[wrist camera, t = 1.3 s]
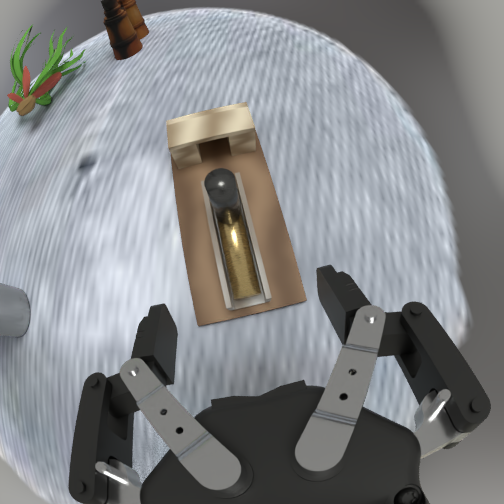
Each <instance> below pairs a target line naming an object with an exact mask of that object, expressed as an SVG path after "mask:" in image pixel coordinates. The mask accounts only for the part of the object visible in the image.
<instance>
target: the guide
mask: <svg viewBox="0 0 504 504" xmlns="http://www.w3.org/2000/svg"><path fill="white" fill-rule="evenodd" d="M166 122H167V136H168V148H169V150H170V152H171V161H172V171H173V180H174V188H175V196H176V204H177V211H178V218H179V225H180V232H181V238H182V245H183V251H184V257H185V263H186V268H187V274H188V279H189V285H190V290H191V295H192V300H193V305H194V310H195V315H196V320H197V324H198V326H202V325H206V324H211V323H216V322H221V321H225V320H230V319H234V318H239V317H243V316H248V315H252V314H256V313H260V312H264V311H269V310H273V309H277V308H281V307H284V306H288V305H292V304H296V303H300V302H304V301H306V300H307V299H306V296H305V292H304V288H303V284H302V281H301V277H300V273H299V270H298V266H297V262H296V259H295V255H294V252H293V248H292V245H291V241H290V238H289V234H288V231H287V228H286V224H285V221H284V218H283V214H282V211H281V208H280V204H279V201H278V198H277V195H276V191H275V188H274V185H273V182H272V179H271V176H270V172H269V169H268V166H267V163H266V160H265V157H264V154H263V151H262V148H261V145H260V142H259V139H258V136H257V133H256V130H255V126H254V123H253V120H252V117H251V114H250V111H249V109H248V106H247V103H246V102H244V103H239V104H234V105H229V106H224V107H219V108H214V109H210V110H206V111H202V112H198V113H194V114H190V115H186V116H182V117H179V118H175V119H171V120H168V121H166ZM218 168H225V169H228V170H230V171H231V172H232V173H233V174H234V176H235V179H236V186H237V192H238V198H239V204H240V209H241V213H242V217H243V221H244V225H245V229H246V233H247V237H248V241H249V245H250V249H251V253H252V258H253V262H254V266H255V270H256V274H257V278H258V282H259V286H260V290H261V294H259V295H256V296H253V297H249V298H245V299H239V300H234V296H233V292H232V288H231V283H230V279H229V274H228V270H227V265H226V261H225V256H224V251H223V247H222V242H221V237H220V232H219V228H218V223H217V218H216V215H215V212H214V210H213V207H212V204H211V202H210V199H209V196H208V194H207V191H206V188H205V185H204V181H205V178H206V176H207V174H208V173H209V172H211V171H212V170H215V169H218Z"/></svg>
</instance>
